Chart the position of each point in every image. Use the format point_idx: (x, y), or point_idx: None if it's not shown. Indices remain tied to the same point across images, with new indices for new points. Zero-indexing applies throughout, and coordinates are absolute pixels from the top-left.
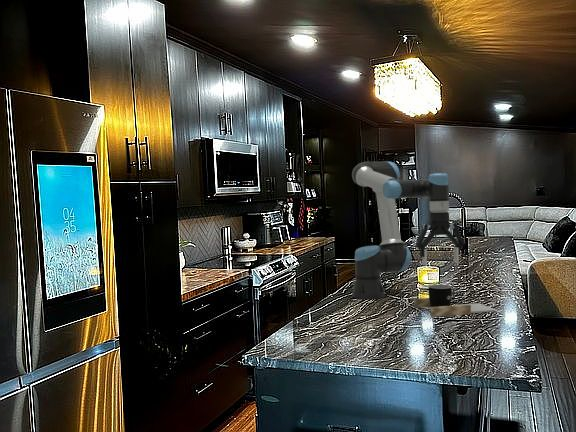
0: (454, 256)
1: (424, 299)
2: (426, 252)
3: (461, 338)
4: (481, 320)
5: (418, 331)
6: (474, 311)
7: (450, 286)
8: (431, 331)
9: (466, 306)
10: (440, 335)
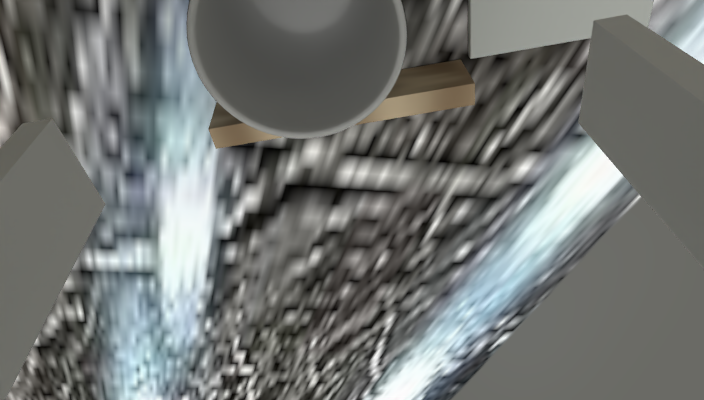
0: (651, 100)
1: None
2: (14, 374)
3: (282, 372)
4: (447, 199)
5: (145, 317)
6: (500, 53)
7: (398, 53)
8: (195, 318)
9: (444, 106)
10: (221, 351)
